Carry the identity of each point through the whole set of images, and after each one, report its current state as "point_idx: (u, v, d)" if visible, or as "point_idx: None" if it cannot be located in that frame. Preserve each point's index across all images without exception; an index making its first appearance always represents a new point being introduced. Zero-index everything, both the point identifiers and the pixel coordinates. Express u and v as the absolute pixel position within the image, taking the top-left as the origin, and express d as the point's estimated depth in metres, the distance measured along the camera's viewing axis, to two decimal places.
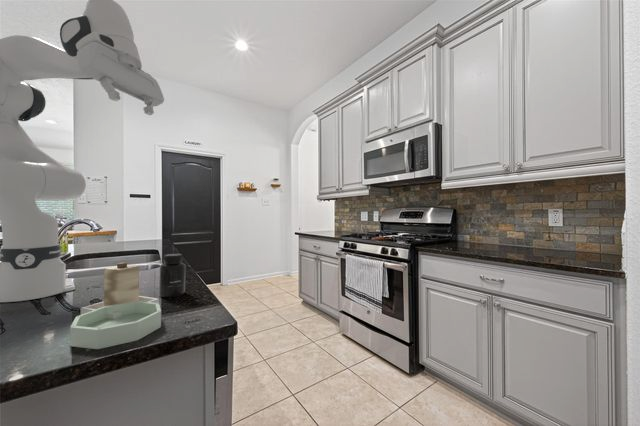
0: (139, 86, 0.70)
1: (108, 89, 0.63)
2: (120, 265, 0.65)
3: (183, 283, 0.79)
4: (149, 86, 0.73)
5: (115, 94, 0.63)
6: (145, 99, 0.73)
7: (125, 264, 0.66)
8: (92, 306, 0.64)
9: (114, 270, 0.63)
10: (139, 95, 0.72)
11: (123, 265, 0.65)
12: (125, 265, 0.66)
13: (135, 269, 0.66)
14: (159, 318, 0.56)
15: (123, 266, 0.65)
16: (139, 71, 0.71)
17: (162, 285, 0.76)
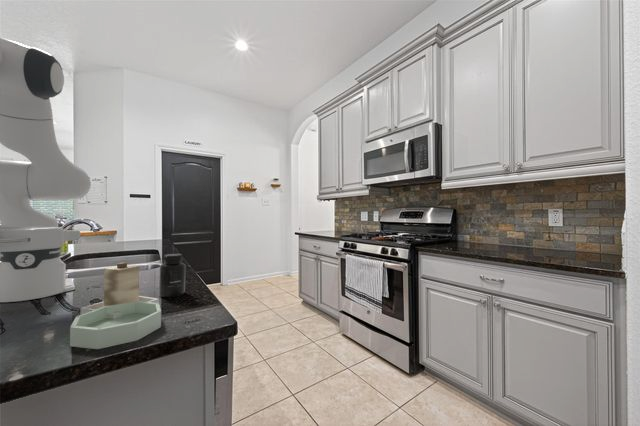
0: None
1: None
2: (120, 265, 0.65)
3: (183, 283, 0.79)
4: None
5: None
6: None
7: (125, 264, 0.66)
8: (92, 306, 0.64)
9: (114, 270, 0.63)
10: None
11: (123, 265, 0.65)
12: (125, 265, 0.66)
13: (135, 269, 0.66)
14: (159, 318, 0.56)
15: (123, 266, 0.65)
16: None
17: (162, 285, 0.76)
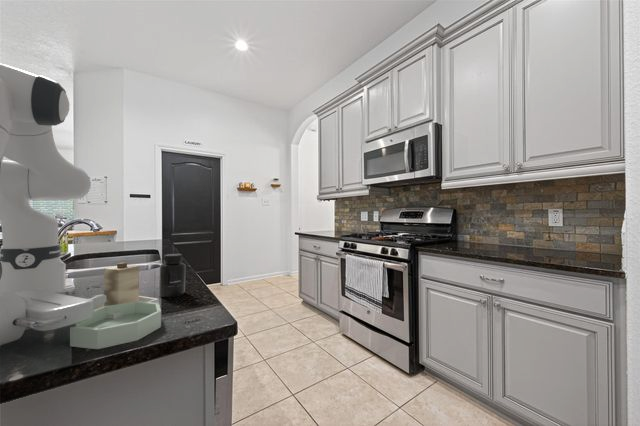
0: None
1: None
2: (120, 265, 0.65)
3: (183, 283, 0.79)
4: None
5: None
6: None
7: (125, 264, 0.66)
8: None
9: (114, 270, 0.63)
10: None
11: (123, 265, 0.65)
12: (125, 265, 0.66)
13: (135, 269, 0.66)
14: (159, 318, 0.56)
15: (123, 266, 0.65)
16: None
17: (162, 285, 0.76)
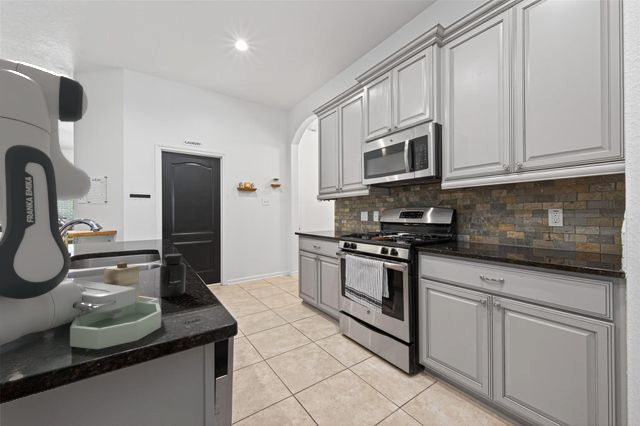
0: None
1: None
2: (120, 265, 0.65)
3: (183, 283, 0.79)
4: None
5: None
6: None
7: (125, 264, 0.66)
8: None
9: (114, 270, 0.63)
10: None
11: (123, 265, 0.65)
12: (125, 265, 0.66)
13: (135, 269, 0.66)
14: (159, 318, 0.56)
15: (123, 266, 0.65)
16: None
17: (162, 285, 0.76)
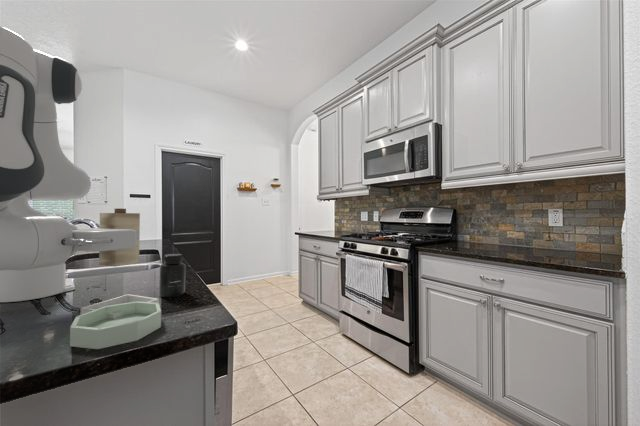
0: None
1: None
2: (118, 210, 0.56)
3: (183, 283, 0.79)
4: None
5: None
6: None
7: (124, 209, 0.57)
8: (92, 306, 0.64)
9: (111, 214, 0.55)
10: None
11: (121, 210, 0.57)
12: (124, 211, 0.57)
13: (135, 216, 0.58)
14: (159, 318, 0.56)
15: (121, 211, 0.57)
16: None
17: (162, 285, 0.76)
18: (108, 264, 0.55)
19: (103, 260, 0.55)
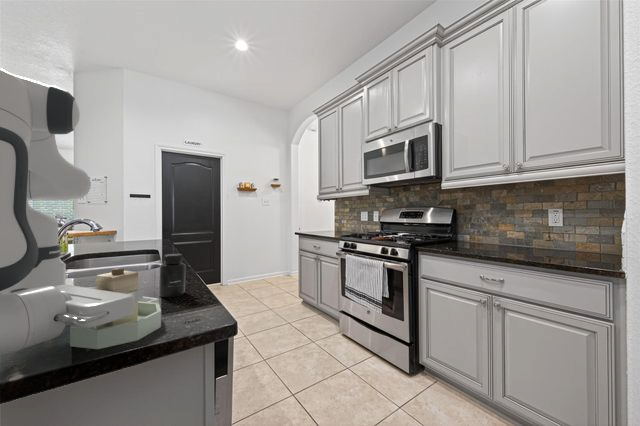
0: None
1: None
2: (115, 271, 0.54)
3: (183, 283, 0.79)
4: None
5: None
6: None
7: (121, 270, 0.55)
8: None
9: (108, 278, 0.52)
10: None
11: (119, 271, 0.54)
12: (121, 271, 0.55)
13: (133, 276, 0.55)
14: (159, 318, 0.56)
15: (119, 272, 0.54)
16: None
17: (162, 285, 0.76)
18: None
19: (100, 325, 0.53)
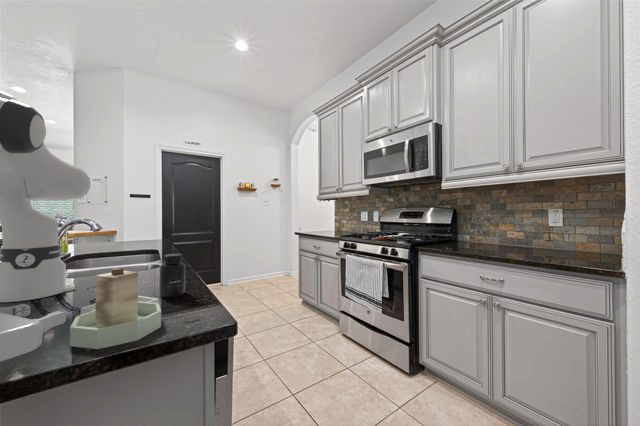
0: None
1: None
2: (115, 271, 0.54)
3: (183, 283, 0.79)
4: None
5: None
6: None
7: (121, 270, 0.55)
8: (92, 306, 0.64)
9: (108, 278, 0.52)
10: None
11: (119, 271, 0.54)
12: (121, 271, 0.55)
13: (133, 276, 0.55)
14: (159, 318, 0.56)
15: (119, 272, 0.54)
16: None
17: (162, 285, 0.76)
18: None
19: (100, 326, 0.53)
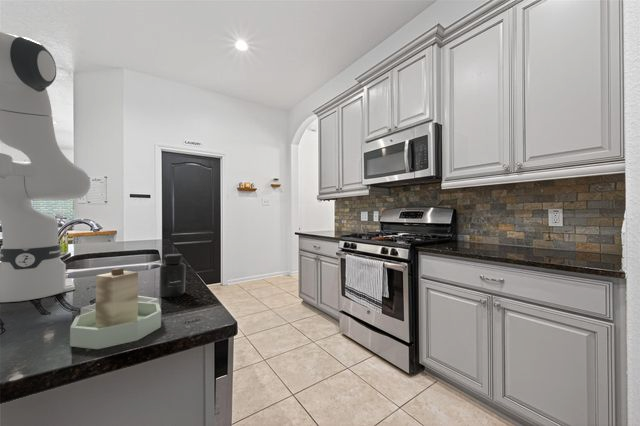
0: None
1: None
2: (115, 271, 0.54)
3: (183, 283, 0.79)
4: None
5: None
6: None
7: (121, 270, 0.55)
8: (92, 306, 0.64)
9: (108, 278, 0.52)
10: None
11: (119, 271, 0.54)
12: (121, 271, 0.55)
13: (133, 276, 0.55)
14: (159, 318, 0.56)
15: (119, 272, 0.54)
16: None
17: (162, 285, 0.76)
18: None
19: (100, 326, 0.53)
